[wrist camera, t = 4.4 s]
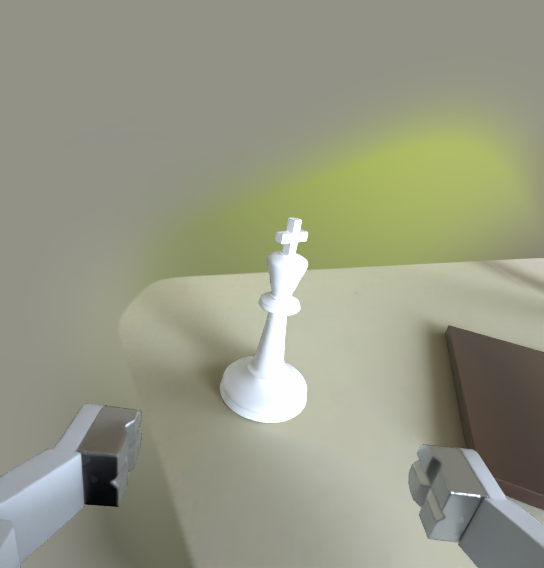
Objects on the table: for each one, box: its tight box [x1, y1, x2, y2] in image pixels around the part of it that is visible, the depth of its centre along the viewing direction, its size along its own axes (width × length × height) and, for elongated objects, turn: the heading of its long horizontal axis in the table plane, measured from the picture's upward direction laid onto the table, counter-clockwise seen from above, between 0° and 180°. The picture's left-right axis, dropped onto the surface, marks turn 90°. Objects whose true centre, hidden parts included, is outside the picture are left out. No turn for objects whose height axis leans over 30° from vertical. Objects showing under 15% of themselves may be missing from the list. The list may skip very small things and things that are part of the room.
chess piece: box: [220, 218, 308, 423], centre depth 19 cm, size 5×5×10 cm
